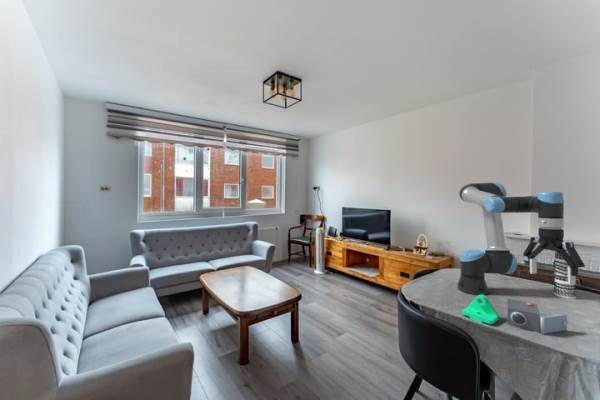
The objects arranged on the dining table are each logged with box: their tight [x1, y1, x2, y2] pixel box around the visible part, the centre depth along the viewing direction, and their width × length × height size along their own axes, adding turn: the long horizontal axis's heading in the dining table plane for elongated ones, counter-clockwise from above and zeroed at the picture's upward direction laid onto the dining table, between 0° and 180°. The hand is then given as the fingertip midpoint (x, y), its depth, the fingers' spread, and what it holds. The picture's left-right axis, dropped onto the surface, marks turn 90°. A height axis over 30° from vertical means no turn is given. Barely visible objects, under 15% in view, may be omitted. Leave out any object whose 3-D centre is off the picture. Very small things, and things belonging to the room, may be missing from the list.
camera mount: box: [461, 294, 500, 325], centre depth 113 cm, size 12×8×10 cm, turn 33°
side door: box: [540, 313, 569, 335], centre depth 100 cm, size 1×12×7 cm, turn 99°
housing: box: [507, 298, 541, 334], centre depth 108 cm, size 10×13×8 cm
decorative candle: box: [552, 249, 578, 300], centre depth 135 cm, size 9×9×25 cm
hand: (551, 278), depth 104 cm, fingers open, 13 cm apart
